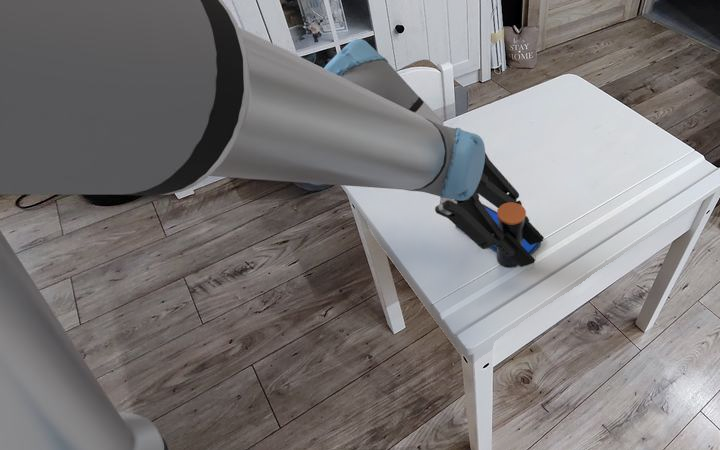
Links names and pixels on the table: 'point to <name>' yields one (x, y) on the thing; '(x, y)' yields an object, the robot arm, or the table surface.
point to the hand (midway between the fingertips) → (532, 251)
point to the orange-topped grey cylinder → (510, 228)
